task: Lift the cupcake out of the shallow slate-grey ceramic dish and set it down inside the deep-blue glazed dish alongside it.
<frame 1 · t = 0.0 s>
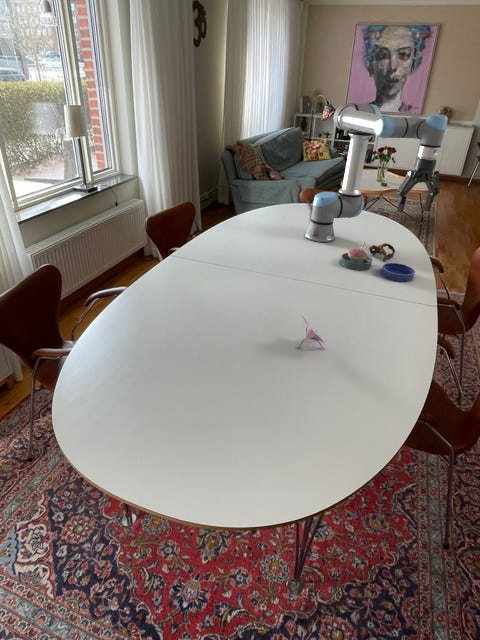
hand: (413, 211, 181), 28 cm above the table, tool pointing down, fingers open, 13 cm apart
cupcake: (355, 264, 200), resting on slate dish
lily: (309, 346, 138), on the table
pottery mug: (379, 258, 210), on the table
blue dish: (396, 275, 192), on the table
slate dish: (355, 264, 201), on the table
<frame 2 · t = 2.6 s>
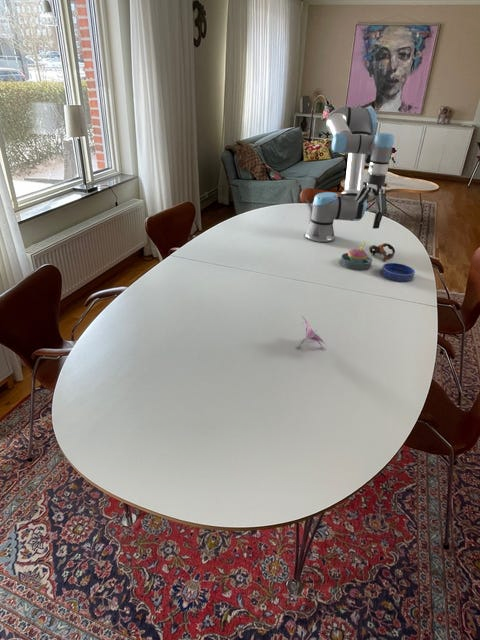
hand: (366, 223, 190), 20 cm above the table, tool pointing down, fingers open, 13 cm apart
nothing on the table moved.
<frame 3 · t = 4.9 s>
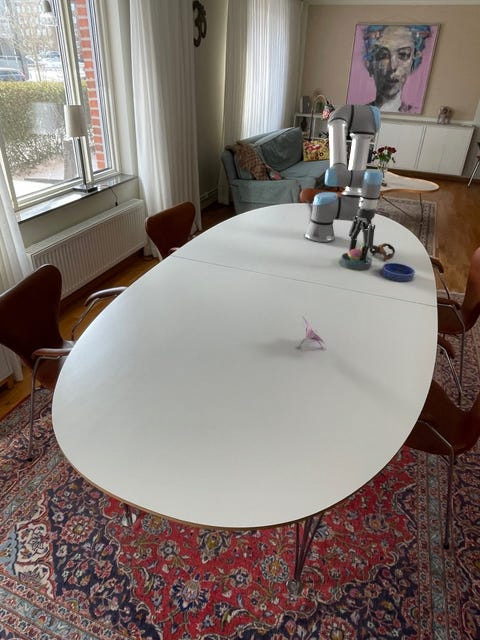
hand: (356, 256, 199), 4 cm above the table, tool pointing down, fingers closed on cupcake, 8 cm apart
cupcake: (355, 264, 200), resting on slate dish, touching gripper
everything else where it was.
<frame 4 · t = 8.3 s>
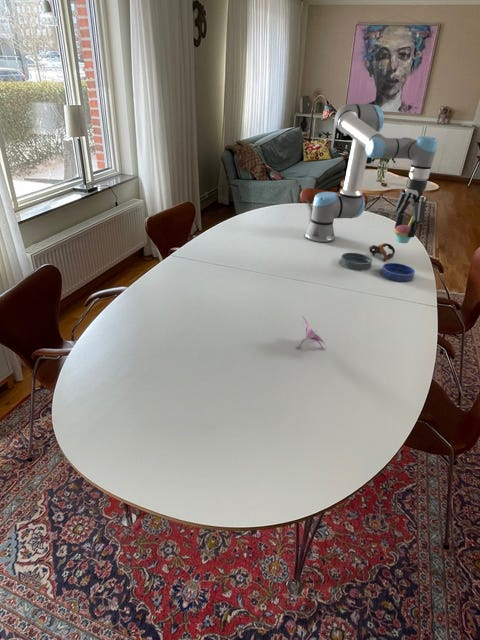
hand: (403, 233, 183), 19 cm above the table, tool pointing down, fingers closed on cupcake, 8 cm apart
cupcake: (401, 242, 185), point 15 cm above the table, touching gripper
everything else where it was.
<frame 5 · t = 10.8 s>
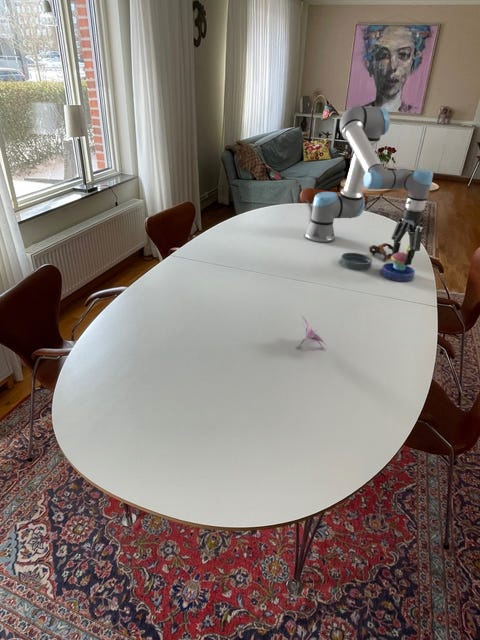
hand: (400, 260, 189), 7 cm above the table, tool pointing down, fingers closed on cupcake, 8 cm apart
cupcake: (398, 268, 190), point 3 cm above the table, touching gripper
everything else where it was.
when the fingers open (4 cm above the table, at t = 12.1 s): cupcake stays where it is, resting on blue dish.
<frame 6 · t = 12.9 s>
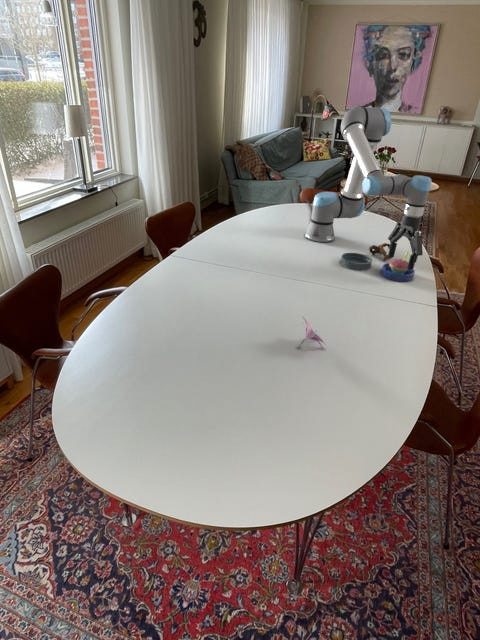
hand: (400, 262, 189), 6 cm above the table, tool pointing down, fingers open, 13 cm apart
cupcake: (396, 275, 192), resting on blue dish
everything else where it was.
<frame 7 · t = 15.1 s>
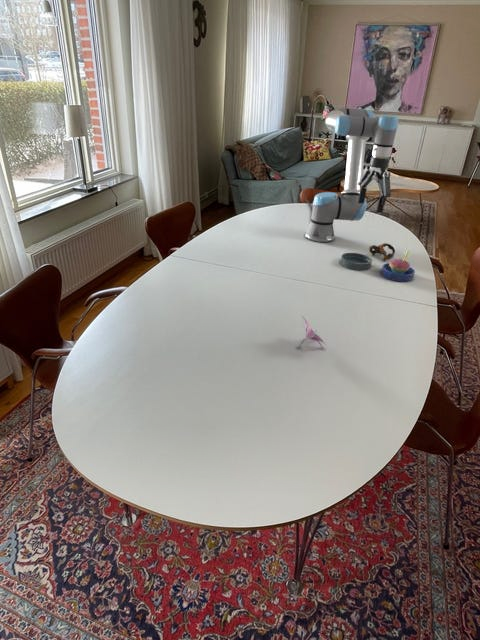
hand: (369, 207, 189), 26 cm above the table, tool pointing down, fingers open, 13 cm apart
nothing on the table moved.
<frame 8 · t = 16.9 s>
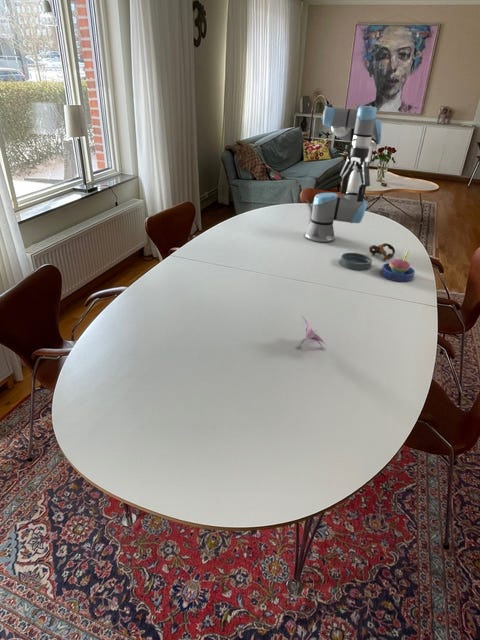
hand: (351, 197, 193), 29 cm above the table, tool pointing down, fingers open, 13 cm apart
nothing on the table moved.
at the end: cupcake inside the target area in the blue dish (0.1 cm from its centre), point 0.1 cm above the blue dish's base; cupcake tilted 0°; cupcake touching blue dish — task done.
